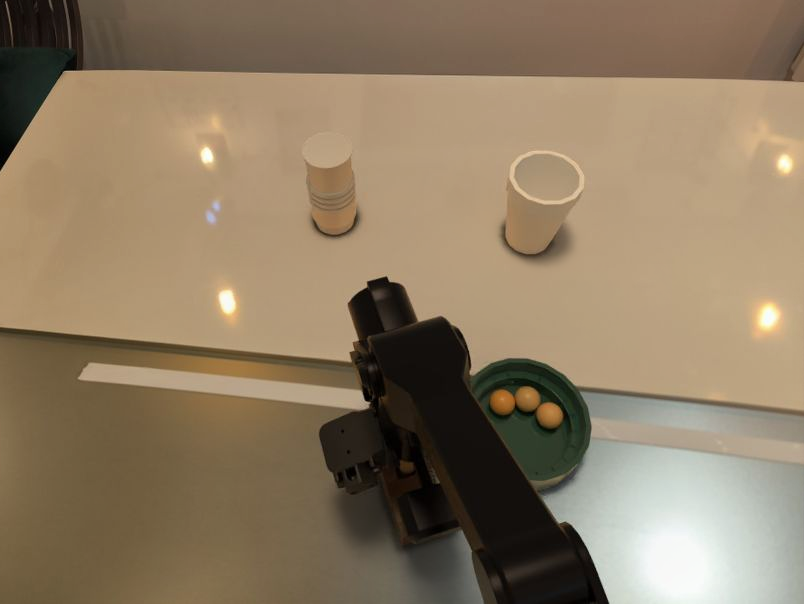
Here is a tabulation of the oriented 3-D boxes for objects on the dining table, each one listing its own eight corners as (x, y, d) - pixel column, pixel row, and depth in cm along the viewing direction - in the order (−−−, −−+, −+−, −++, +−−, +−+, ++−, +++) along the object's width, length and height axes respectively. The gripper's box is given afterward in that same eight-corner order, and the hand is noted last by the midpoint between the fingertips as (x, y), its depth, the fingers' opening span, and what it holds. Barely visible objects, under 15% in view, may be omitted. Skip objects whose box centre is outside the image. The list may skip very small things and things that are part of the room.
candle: (363, 207, 94) (360, 136, 82) (348, 241, 90) (342, 173, 78) (322, 197, 96) (312, 126, 83) (306, 231, 92) (293, 162, 80)
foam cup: (538, 274, 85) (560, 216, 74) (482, 241, 89) (495, 182, 78) (572, 231, 89) (597, 170, 78) (516, 202, 93) (533, 140, 82)
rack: (451, 530, 67) (454, 522, 64) (401, 545, 66) (402, 538, 63) (408, 409, 75) (409, 397, 72) (363, 422, 74) (362, 410, 71)
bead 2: (516, 396, 71) (519, 377, 73) (509, 411, 73) (513, 393, 75) (542, 405, 70) (545, 386, 72) (534, 420, 72) (537, 401, 74)
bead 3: (570, 415, 69) (557, 437, 70) (565, 406, 72) (552, 427, 73) (546, 403, 70) (533, 425, 70) (541, 394, 73) (529, 415, 73)
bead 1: (506, 418, 70) (519, 397, 71) (483, 403, 72) (497, 382, 72) (506, 421, 73) (520, 401, 74) (485, 407, 74) (498, 386, 75)
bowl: (602, 471, 69) (615, 458, 65) (485, 507, 68) (492, 497, 64) (545, 362, 77) (554, 344, 73) (440, 392, 76) (443, 376, 72)
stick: (416, 471, 71) (421, 441, 62) (408, 484, 70) (411, 456, 61) (403, 462, 71) (405, 431, 62) (395, 475, 71) (396, 446, 62)
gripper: (299, 342, 58) (315, 402, 71) (353, 546, 48) (360, 574, 60) (409, 311, 59) (405, 376, 72) (485, 505, 49) (465, 541, 62)
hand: (406, 460), depth 67 cm, fingers open, 9 cm apart
